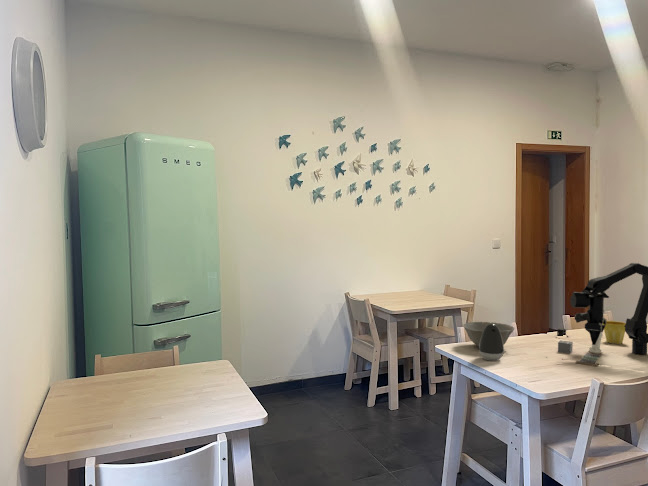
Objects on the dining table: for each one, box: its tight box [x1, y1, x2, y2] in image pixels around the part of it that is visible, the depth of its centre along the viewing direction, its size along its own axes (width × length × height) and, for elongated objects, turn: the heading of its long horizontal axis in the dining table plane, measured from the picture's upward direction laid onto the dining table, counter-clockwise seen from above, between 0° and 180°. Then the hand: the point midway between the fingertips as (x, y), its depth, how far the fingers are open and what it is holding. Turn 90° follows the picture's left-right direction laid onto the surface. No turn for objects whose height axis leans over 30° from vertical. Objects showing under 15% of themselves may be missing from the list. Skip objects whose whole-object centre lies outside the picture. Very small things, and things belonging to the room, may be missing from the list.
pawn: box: [588, 332, 604, 355], centre depth 222 cm, size 5×5×10 cm
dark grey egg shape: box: [478, 324, 505, 362], centre depth 212 cm, size 10×10×15 cm
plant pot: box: [602, 320, 626, 345], centre depth 245 cm, size 10×10×10 cm
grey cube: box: [557, 339, 573, 354], centre depth 224 cm, size 5×5×5 cm
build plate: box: [556, 327, 567, 336], centre depth 257 cm, size 12×7×5 cm, turn 135°
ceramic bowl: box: [463, 321, 515, 348], centre depth 233 cm, size 22×23×10 cm
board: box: [575, 350, 604, 367], centre depth 215 cm, size 26×8×1 cm, turn 144°
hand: (595, 342), depth 222 cm, fingers open, 9 cm apart
